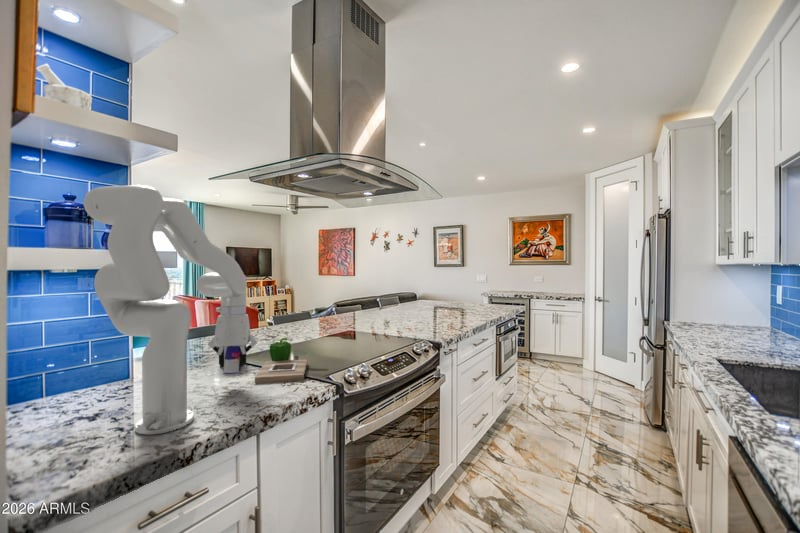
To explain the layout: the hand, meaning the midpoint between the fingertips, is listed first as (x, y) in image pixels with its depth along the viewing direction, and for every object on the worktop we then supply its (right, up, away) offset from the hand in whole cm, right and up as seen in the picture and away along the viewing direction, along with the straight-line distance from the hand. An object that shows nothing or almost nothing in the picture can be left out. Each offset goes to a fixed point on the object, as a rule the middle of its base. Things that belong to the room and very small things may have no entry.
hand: (232, 365), depth 118 cm
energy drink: (0, -3, 0) cm, 3 cm away
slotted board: (+12, -7, +15) cm, 21 cm away
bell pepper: (+6, -7, +30) cm, 31 cm away
